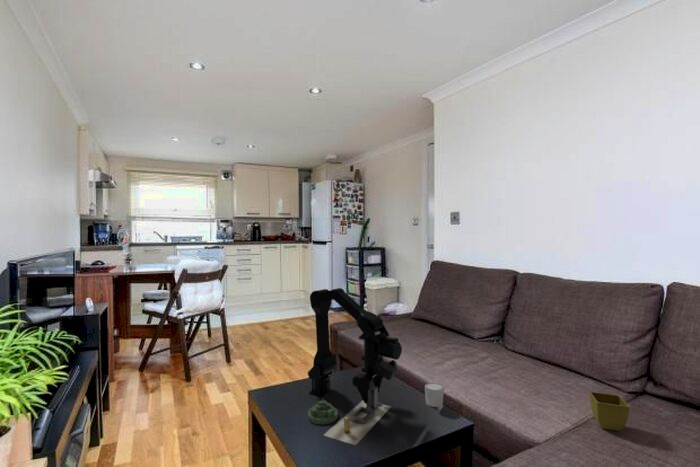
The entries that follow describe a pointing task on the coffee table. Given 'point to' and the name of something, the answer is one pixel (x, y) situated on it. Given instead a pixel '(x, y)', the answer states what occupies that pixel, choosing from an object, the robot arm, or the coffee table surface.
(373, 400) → the end link
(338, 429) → the tie-down board
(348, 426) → the keeper post
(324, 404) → the decorative artifact
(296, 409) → the coffee table surface
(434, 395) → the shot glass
